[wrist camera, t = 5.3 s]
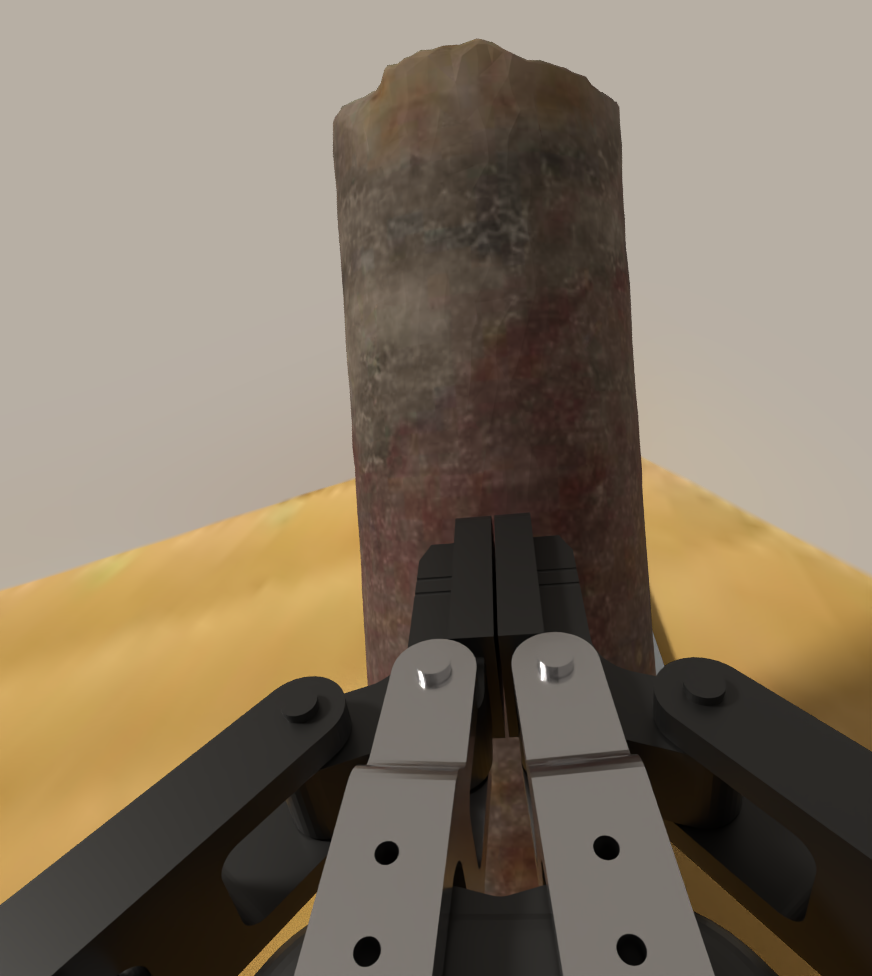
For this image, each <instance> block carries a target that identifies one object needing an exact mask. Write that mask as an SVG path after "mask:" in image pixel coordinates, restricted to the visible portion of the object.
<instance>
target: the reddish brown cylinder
mask: <svg viewBox="0 0 872 976" xmlns="http://www.w3.org/2000/svg"><path fill="white" fill-rule="evenodd" d="M333 157H334V169H335V179H336V189H337V214H338V230H339V243H340V253H341V269H342V284H343V295H344V313H345V334H346V352H347V365H348V376H349V387H350V401H351V417H352V442H353V444H352V445H353V455H354V464H355V477H356V495H357V513H358V525H359V538H360V552H361V571H362V596H363V613H364V629H365V645H366V663H367V679H368V686H370V685H372V684H375V683H377V682H379V681H381V680H383V679H385V678H386V677H388V676H389V675H390V674H391V671H392V668H393V665H394V663H395V661H396V659H397V658H398V657H399V656H400V654H401V653H402V652H404V651H405V650H406V649H408V641H409V634H410V626H411V618H412V611H413V603H414V596H415V588H416V582H417V573H418V565H419V560H420V559H421V558H422V556H423V555H424V554H425V553H426V551H427V550H428V549H429V547H430V546H431V545H435V544H449V543H454V532H455V519H456V518H467V517H479V516H491V517H492V524H493V534H494V543H495V526H494V515H503V514H516V513H529V512H530V516H531V524H532V533H533V537H540V536H554V535H559V536H560V537H561V538H562V539H563V540H564V541H565V542H566V543H567V544H568V545H569V546H570V547H571V548H572V549H573V553H574V558H575V563H576V569H577V573H578V578H579V585H580V588H581V593H582V598H583V603H584V608H585V613H586V618H587V623H588V628H589V633H590V638H591V641H592V644H593V645H594V647H595V649H596V650H597V651H598V653H599V654H600V655H601V656H602V657H604V658H605V659H606V660H607V661H609V662H610V663H612V664H614V665H616V666H618V667H620V668H623V669H626V670H629V671H633V672H638V673H643V674H648V675H653V676H656V667H655V655H654V643H653V632H652V619H651V605H650V590H649V575H648V562H647V549H646V536H645V522H644V507H643V493H642V465H641V453H640V439H639V422H638V410H637V401H636V389H635V374H634V360H633V345H632V321H631V299H630V282H629V272H628V262H627V253H626V242H625V218H624V205H623V186H622V142H621V131H620V114H619V106H618V104H617V102H614V100H613V99H611V98H610V97H609V96H607V95H606V94H604V93H603V92H600V91H599V90H598V89H596V88H595V87H594V86H592V85H591V83H590V82H589V81H588V79H587V78H586V77H585V76H582V75H579V74H576V73H573V72H571V71H569V70H568V69H566V68H564V67H559V66H556V65H553V64H550V63H547V62H544V61H541V60H526V59H524V58H521V57H519V56H517V55H515V54H512V53H511V52H508V51H506V50H504V49H502V48H501V47H499V46H498V45H496V44H495V43H493V42H489V41H485V40H482V39H474V40H472V41H469V42H466V43H463V44H461V45H448V46H441V47H438V48H435V49H432V50H420V51H419V52H417V53H415V54H414V55H412V56H410V57H407V58H404V59H403V60H402V61H401V62H399V63H398V64H393V65H387V67H386V68H385V70H384V73H383V77H382V81H381V84H380V85H379V87H378V88H377V90H376V91H373V92H371V93H370V94H368V95H366V96H365V97H363V98H360V99H357V100H355V101H353V102H351V103H349V104H347V105H344V106H342V108H341V110H340V111H339V113H338V114H337V116H336V117H335V119H334V122H333ZM503 689H504V686H503ZM504 716H505V738H493V762H492V767H491V775H492V786H491V800H490V814H489V828H488V843H487V857H486V871H485V894H488V895H492V896H508V895H512V894H515V893H518V892H522V891H525V890H529V889H532V888H536V887H539V883H538V876H537V870H536V863H535V856H534V849H533V843H532V836H531V829H530V823H529V816H528V809H527V802H526V796H525V789H524V782H523V773H522V763H521V754H520V744H519V737H509V731H508V722H507V713H506V704H505V695H504Z"/></svg>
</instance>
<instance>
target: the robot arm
mask: <svg viewBox="0 0 872 976" xmlns="http://www.w3.org/2000/svg"><path fill="white" fill-rule="evenodd" d="M494 526H495V543H494V534H493V524H492V517H491V516H479V517H467V518H456V519H455V532H454V543H449V544H435V545H431V546H430V547H429V549H428V550H427V551H426V553H425V554H424V555H423V556H422V558H421V559H420V560H419V565H418V573H417V582H416V588H415V596H414V603H413V611H412V618H411V626H410V634H409V641H408V649H406V650H405V651H404V652H402V653H401V654H400V656H399V657H398V658H397V659H396V661H395V663H394V665H393V668H392V671H391V674H390V675H389V676H388V677H386V678H385V679H383V680H381V681H379V682H377V683H375V684H372V685H370V686H367V687H364V688H360V689H357V690H354V691H351V692H348V693H343V690H342V689H341V688H340V686H339V685H338V684H337V683H335V682H334V681H332V680H330V679H327V678H324V677H317V676H315V677H303V678H299V679H295V680H292V681H290V682H287V683H286V684H284V685H282V686H280V687H279V688H277V689H276V690H274V691H273V692H272V693H271V694H269V695H268V696H267V697H265V698H264V699H263V700H262V701H260V702H259V703H258V704H257V705H255V706H254V707H253V708H251V709H250V710H249V711H248V712H246V713H245V714H244V715H242V716H241V717H240V718H239V719H237V720H236V721H235V722H234V723H232V724H231V725H230V726H228V727H227V728H226V729H225V730H223V731H222V732H221V733H220V734H218V735H217V736H216V737H214V738H213V739H212V740H211V741H209V742H208V743H207V744H205V745H204V746H203V747H202V748H200V749H199V750H198V751H197V752H195V753H194V754H193V755H191V756H190V757H189V758H188V759H186V760H185V761H184V762H182V763H181V764H180V765H179V766H177V767H176V768H175V769H174V770H172V771H171V772H170V773H168V774H167V775H166V776H165V777H163V778H162V779H161V780H159V781H158V782H157V783H156V784H154V785H153V786H152V787H151V788H149V789H148V790H147V791H145V792H144V793H143V794H142V795H140V796H139V797H138V798H136V799H135V800H134V801H133V802H131V803H130V804H129V805H128V806H126V807H125V808H124V809H122V810H121V811H120V812H119V813H117V814H116V815H115V816H113V817H112V818H111V819H110V820H108V821H107V822H106V823H105V824H103V825H102V826H101V827H99V828H98V829H97V830H96V831H94V832H93V833H92V834H90V835H89V836H88V837H87V838H85V839H84V840H83V841H82V842H80V843H79V844H78V845H76V846H75V847H74V848H73V849H71V850H70V851H69V852H67V853H66V854H65V855H64V856H62V857H61V858H60V859H59V860H57V861H56V862H55V863H53V864H52V865H51V866H50V867H48V868H47V869H46V870H44V871H43V872H42V873H41V874H39V875H38V876H37V877H36V878H34V879H33V880H32V881H30V882H29V883H28V884H27V885H25V886H24V887H23V888H21V889H20V890H19V891H18V892H16V893H15V894H14V895H13V896H11V897H10V898H9V899H7V900H6V901H5V902H4V903H2V904H1V905H0V976H238V975H239V974H240V973H241V972H242V971H243V970H244V969H245V968H246V966H247V965H248V964H249V963H250V962H251V961H252V960H253V959H254V958H255V957H256V956H257V955H258V954H259V953H260V952H261V951H262V950H263V948H264V947H265V946H266V945H267V944H268V943H269V942H270V941H271V940H272V939H273V938H274V937H275V936H276V935H277V934H278V933H279V932H280V930H281V929H282V928H283V927H284V926H285V925H286V924H287V923H288V922H289V921H290V920H291V919H292V918H293V917H294V916H295V915H296V914H297V912H298V911H299V910H300V909H301V908H302V907H303V906H304V905H305V904H306V903H307V902H308V901H309V900H310V899H311V898H312V897H313V896H314V895H315V893H316V892H317V894H316V898H315V902H314V905H313V909H312V912H311V916H310V920H309V923H308V925H307V926H305V927H304V928H303V929H301V930H300V931H299V932H297V933H296V934H295V935H293V936H292V937H291V938H290V939H289V940H288V941H286V942H285V943H284V944H283V945H282V946H281V947H280V948H279V949H278V950H277V951H276V952H275V953H274V954H273V955H272V956H271V957H270V958H269V959H268V960H267V962H266V963H265V964H264V965H263V966H262V967H261V968H260V970H259V971H258V972H257V973H256V974H255V975H254V976H778V975H777V974H776V973H775V972H774V971H773V970H772V969H771V968H770V967H769V966H768V965H767V964H766V963H765V962H764V961H763V960H762V959H761V958H760V957H759V956H758V955H757V954H756V953H755V952H754V951H753V950H751V949H750V948H749V947H748V946H747V945H746V944H744V943H743V942H742V941H740V940H739V939H738V938H737V937H735V936H734V935H733V934H732V933H730V932H729V931H727V930H726V929H724V928H723V927H721V926H719V925H718V924H716V923H715V922H713V921H712V920H710V919H708V918H706V917H704V916H702V915H700V914H698V913H696V912H694V911H693V909H692V906H691V903H690V900H689V897H688V894H687V891H686V888H685V885H684V882H683V879H682V876H681V873H680V870H679V867H678V864H677V861H676V858H675V855H674V852H673V849H672V846H671V843H670V841H671V842H672V843H673V844H674V845H675V846H676V847H677V848H678V849H680V850H681V851H682V852H683V853H684V854H685V855H686V856H687V857H689V858H690V859H691V860H692V861H693V862H694V863H695V864H697V865H698V866H699V867H700V868H701V869H702V870H703V871H704V872H706V873H707V874H708V875H709V876H710V877H711V878H712V879H713V880H715V881H716V882H717V883H718V884H719V885H720V886H721V887H722V888H724V889H725V890H726V891H727V892H728V893H729V894H730V895H731V896H733V897H734V898H735V899H736V900H737V901H738V902H739V903H740V904H742V905H743V906H744V907H745V908H746V909H747V910H748V911H749V912H751V913H752V914H753V915H754V916H755V917H756V918H757V919H759V920H760V921H761V922H762V923H763V924H764V925H765V926H766V927H768V928H769V929H770V930H771V931H772V932H773V933H774V934H775V935H777V936H778V937H779V938H780V939H781V940H782V941H783V942H784V943H786V944H787V945H788V946H789V947H790V948H791V949H792V950H793V951H795V952H796V953H797V954H798V955H799V956H800V957H801V958H802V959H804V960H805V961H806V962H807V963H808V964H809V965H810V966H812V967H813V968H814V969H815V970H816V971H817V972H818V973H819V974H821V975H822V976H872V752H871V751H870V750H868V749H866V748H865V747H863V746H861V745H860V744H858V743H856V742H855V741H853V740H851V739H850V738H848V737H846V736H845V735H843V734H842V733H840V732H838V731H837V730H835V729H833V728H832V727H830V726H828V725H827V724H825V723H823V722H822V721H820V720H818V719H817V718H815V717H813V716H812V715H810V714H808V713H807V712H805V711H804V710H802V709H800V708H799V707H797V706H795V705H794V704H792V703H790V702H789V701H787V700H785V699H784V698H782V697H780V696H779V695H777V694H775V693H774V692H772V691H770V690H769V689H767V688H765V687H764V686H762V685H761V684H759V683H757V682H756V681H754V680H752V679H751V678H749V677H747V676H746V675H744V674H742V673H741V672H739V671H737V670H736V669H734V668H732V667H730V666H728V665H727V664H724V663H722V662H719V661H716V660H712V659H707V658H697V657H691V658H683V659H679V660H676V661H673V662H670V663H669V664H667V665H665V666H664V667H663V668H662V669H661V670H660V671H659V672H658V674H657V675H656V676H653V675H648V674H643V673H638V672H633V671H629V670H626V669H623V668H620V667H618V666H616V665H614V664H612V663H610V662H609V661H607V660H606V659H605V658H604V657H602V656H601V655H600V654H599V653H598V651H597V650H596V649H595V647H594V645H593V644H592V641H591V638H590V633H589V628H588V623H587V618H586V613H585V608H584V603H583V598H582V593H581V588H580V585H579V578H578V573H577V569H576V563H575V558H574V553H573V549H572V548H571V547H570V546H569V545H568V544H567V543H566V542H565V541H564V540H563V539H562V538H561V537H560V536H559V535H554V536H540V537H533V533H532V524H531V516H530V512H529V513H516V514H503V515H494ZM503 686H504V689H503ZM504 695H505V704H506V713H507V722H508V731H509V737H519V744H520V754H521V763H522V773H523V782H524V789H525V796H526V802H527V809H528V816H529V823H530V829H531V836H532V843H533V849H534V856H535V863H536V870H537V876H538V883H539V887H536V888H532V889H529V890H525V891H522V892H518V893H515V894H512V895H508V896H492V895H488V894H485V871H486V857H487V843H488V828H489V814H490V800H491V786H492V775H491V767H492V762H493V738H505V716H504Z"/></svg>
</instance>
